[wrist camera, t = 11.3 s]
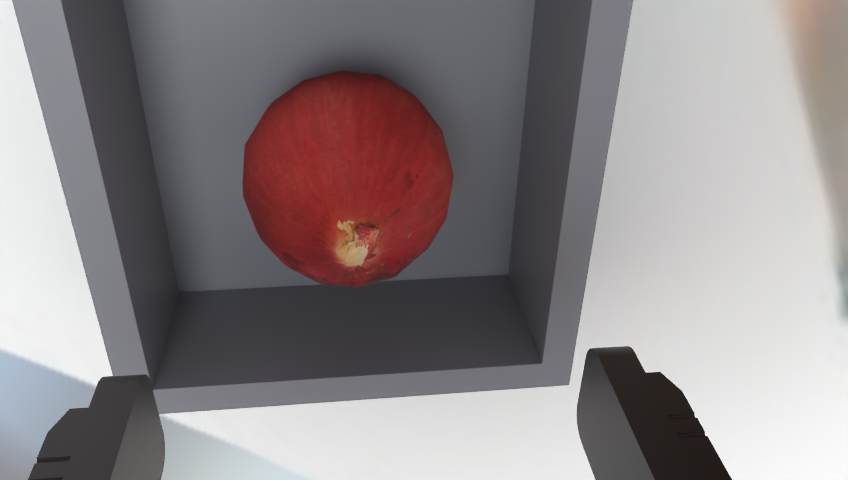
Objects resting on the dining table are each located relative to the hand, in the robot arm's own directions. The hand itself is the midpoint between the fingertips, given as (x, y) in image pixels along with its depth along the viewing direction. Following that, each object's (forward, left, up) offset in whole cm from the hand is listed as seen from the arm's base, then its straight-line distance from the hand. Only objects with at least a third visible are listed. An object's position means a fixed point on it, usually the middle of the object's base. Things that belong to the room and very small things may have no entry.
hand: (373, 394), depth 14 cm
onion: (0, 0, -12) cm, 12 cm away
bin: (0, 0, -13) cm, 13 cm away
